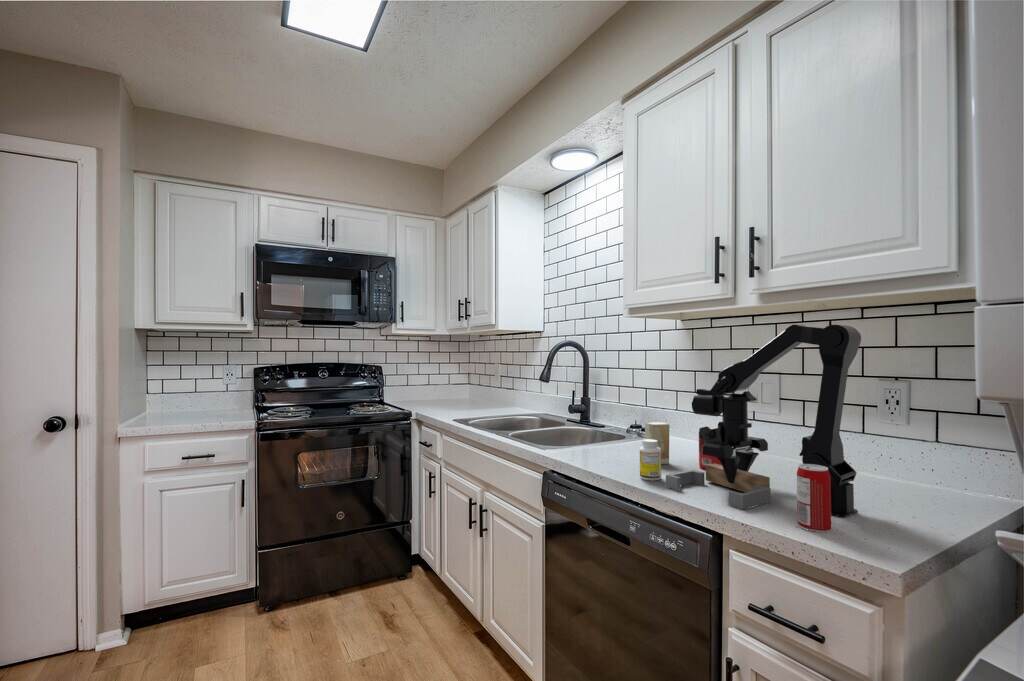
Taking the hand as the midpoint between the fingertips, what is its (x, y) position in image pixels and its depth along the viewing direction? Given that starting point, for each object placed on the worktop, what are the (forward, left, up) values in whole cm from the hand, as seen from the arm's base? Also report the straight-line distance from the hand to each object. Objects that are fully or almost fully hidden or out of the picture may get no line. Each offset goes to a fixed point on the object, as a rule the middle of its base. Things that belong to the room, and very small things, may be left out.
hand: (735, 481), depth 122 cm
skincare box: (+31, -6, -2) cm, 31 cm away
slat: (0, 0, -1) cm, 1 cm away
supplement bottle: (+19, +10, -2) cm, 21 cm away
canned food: (+17, -14, -2) cm, 22 cm away
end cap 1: (+9, +8, -2) cm, 12 cm away
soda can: (-24, +12, -2) cm, 27 cm away
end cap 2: (-9, +8, -2) cm, 12 cm away
